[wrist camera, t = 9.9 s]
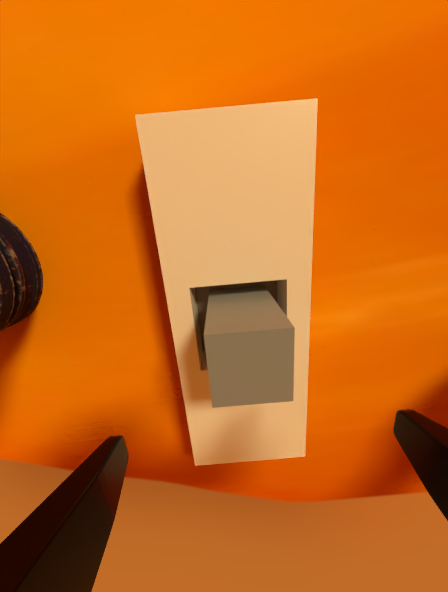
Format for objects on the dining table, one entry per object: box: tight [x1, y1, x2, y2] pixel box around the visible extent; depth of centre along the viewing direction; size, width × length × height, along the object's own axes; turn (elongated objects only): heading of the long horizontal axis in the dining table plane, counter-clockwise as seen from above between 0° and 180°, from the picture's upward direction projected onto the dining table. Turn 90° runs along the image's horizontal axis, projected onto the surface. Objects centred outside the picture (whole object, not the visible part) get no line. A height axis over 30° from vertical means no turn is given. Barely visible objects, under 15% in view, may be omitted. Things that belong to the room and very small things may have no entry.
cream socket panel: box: [135, 98, 318, 466], centre depth 17 cm, size 9×24×4 cm, turn 5°
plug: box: [204, 285, 295, 408], centre depth 14 cm, size 4×4×7 cm
